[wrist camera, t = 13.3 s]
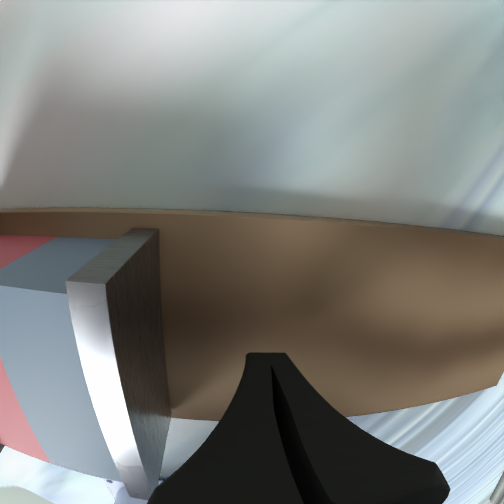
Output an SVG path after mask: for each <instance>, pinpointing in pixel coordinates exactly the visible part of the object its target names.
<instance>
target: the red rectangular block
mask: <svg viewBox="0 0 504 504" xmlns="http://www.w3.org/2000/svg"><path fill="white" fill-rule="evenodd" d="M54 238H56V237H48V236H20V235H0V269H1V268H3V267H4V266H6V265H8V264H10V263H11V262H13V261H15V260H16V259H18V258H20V257H22V256H23V255H25V254H27V253H29V252H30V251H32V250H34V249H36V248H38V247H39V246H41V245H43V244H45V243H47V242H49V241H51V240H52V239H54ZM0 443H1V444H3V445H5V446H8V447H10V448H12V449H15V450H17V451H19V452H22V453H24V454H27V455H29V456H32V457H35V458H37V459H40V460H43V461H46V462H49V463H51V462H50V461H49V459H48V457H47V456H46V454H45V452H44V451H43V449H42V447H41V445H40V444H39V442H38V440H37V438H36V436H35V434H34V433H33V431H32V429H31V427H30V425H29V423H28V421H27V419H26V417H25V415H24V413H23V411H22V409H21V406H20V404H19V402H18V400H17V398H16V395H15V393H14V391H13V388H12V386H11V384H10V381H9V379H8V376H7V374H6V371H5V368H4V366H3V363H2V360H1V357H0Z"/></svg>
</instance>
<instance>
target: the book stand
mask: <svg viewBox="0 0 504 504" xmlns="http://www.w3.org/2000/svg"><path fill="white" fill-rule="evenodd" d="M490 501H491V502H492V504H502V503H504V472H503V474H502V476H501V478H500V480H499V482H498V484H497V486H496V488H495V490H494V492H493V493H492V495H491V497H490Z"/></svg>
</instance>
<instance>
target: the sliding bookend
mask: <svg viewBox="0 0 504 504" xmlns="http://www.w3.org/2000/svg"><path fill="white" fill-rule="evenodd" d="M65 283H66V290H67V296H68V302H69V308H70V314H71V319H72V324H73V329H74V334H75V338H76V343H77V347H78V352H79V356H80V360H81V364H82V368H83V371H84V375H85V379H86V382H87V386H88V389H89V393H90V396H91V399H92V402H93V406H94V409H95V412H96V415H97V418H98V421H99V424H100V426H101V429H102V432H103V435H104V438H105V440H106V443H107V445H108V448H109V451H110V453H111V456H112V458H113V460H114V463H115V465H116V468H117V470H118V472H119V475H120V477H121V479H122V481H123V483H124V486H125V488H126V490H127V492H128V494H129V496H130V497H132V498H137V499H143V500H149V498H150V496H151V495H152V493H153V491H154V489H155V488H156V487H157V486H158V483H159V477H160V471H161V466H162V460H163V455H164V450H165V444H166V439H167V434H168V429H169V424H170V419H171V414H172V413H171V406H170V398H169V389H168V380H167V371H166V360H165V349H164V337H163V323H162V307H161V286H160V256H159V229H157V228H132V229H130V230H129V231H128V232H126V233H125V234H124V235H122V236H121V237H120V238H118V239H117V240H116V241H114V242H113V243H112V244H110V245H109V246H108V247H107V248H105V249H104V250H103V251H101V252H100V253H99V254H98V255H96V256H95V257H94V258H92V259H91V260H90V261H89V262H87V263H86V264H85V265H84V266H82V267H81V268H80V269H79V270H77V271H76V272H75V273H74V274H73V275H71V276H70V277H69V278H68V279H67V280H65Z"/></svg>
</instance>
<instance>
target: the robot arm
mask: <svg viewBox="0 0 504 504" xmlns="http://www.w3.org/2000/svg"><path fill="white" fill-rule="evenodd" d="M103 479H104V478H103ZM104 481H105V483H106V485H107V487H108V489H109V490H110V492H111V494H112V496H113V498H114V499H115V502H114V504H442V503H443V502H444V501H445V500H446V498H447V497H448V495H449V492H450V487H449V485H448V483H447V481H446V479H445V477H444V476H443V474H442V472H441V470H440V469H439V467H438V466H437V464H436V463H434V462H431V461H428V460H425V459H422V458H419V457H417V456H414V455H411V454H408V453H406V452H403V451H401V450H399V449H397V448H395V447H392V446H390V445H388V444H386V443H384V442H383V441H381V440H379V439H377V438H375V437H374V436H372V435H370V434H369V433H367V432H365V431H364V430H362V429H361V428H359V427H358V426H356V425H355V424H353V423H352V422H351V421H349V420H348V419H347V418H346V417H344V416H343V415H342V414H340V413H339V412H338V411H337V410H336V409H335V408H333V407H332V406H331V405H330V404H329V403H328V402H327V401H326V400H325V399H324V398H323V397H322V396H321V395H320V394H319V393H318V392H317V391H316V390H315V388H314V387H313V386H312V385H311V384H310V383H309V382H308V381H307V379H306V378H305V377H304V376H303V375H302V373H301V372H300V371H299V370H298V368H297V367H296V366H295V364H294V363H293V362H292V360H291V359H290V358H289V356H288V355H287V354H286V353H285V352H284V353H261V352H249V353H248V354H246V357H245V367H244V371H243V374H242V377H241V380H240V383H239V385H238V388H237V390H236V392H235V394H234V396H233V398H232V400H231V402H230V404H229V406H228V408H227V410H226V412H225V413H224V415H223V417H222V418H221V420H220V421H219V423H218V424H217V426H216V427H215V429H214V430H213V431H212V433H211V434H210V435H209V437H208V438H207V439H206V441H205V442H204V443H203V444H202V445H201V446H200V448H199V449H198V450H197V451H196V452H195V453H194V454H193V455H192V456H191V457H190V458H189V459H188V460H187V461H186V462H185V463H184V464H183V465H182V466H181V467H180V468H179V469H178V470H177V471H175V472H174V473H173V474H172V475H171V476H169V477H168V478H167V479H166V480H164V481H162V480H159V483H158V486H157V487H156V488H155V489H154V491H153V493H152V495H151V496H150V498H149V500H143V499H137V498H132V497H130V496H129V494H128V492H127V490H126V488H125V486H124V483H123V482H118V481H113V480H109V479H104Z"/></svg>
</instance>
